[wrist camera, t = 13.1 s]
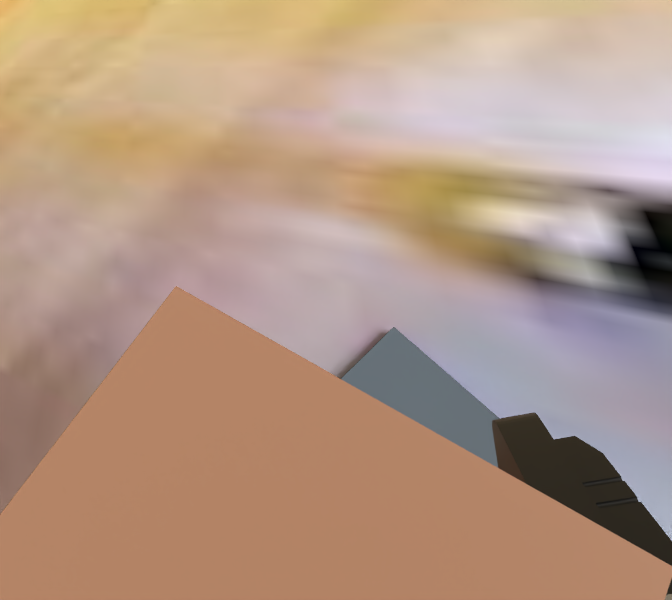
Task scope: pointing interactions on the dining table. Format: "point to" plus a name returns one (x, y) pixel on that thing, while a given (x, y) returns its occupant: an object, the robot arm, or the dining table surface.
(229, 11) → the dining table surface
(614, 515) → the robot arm
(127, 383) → the terracotta pillar
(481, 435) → the slate mat
